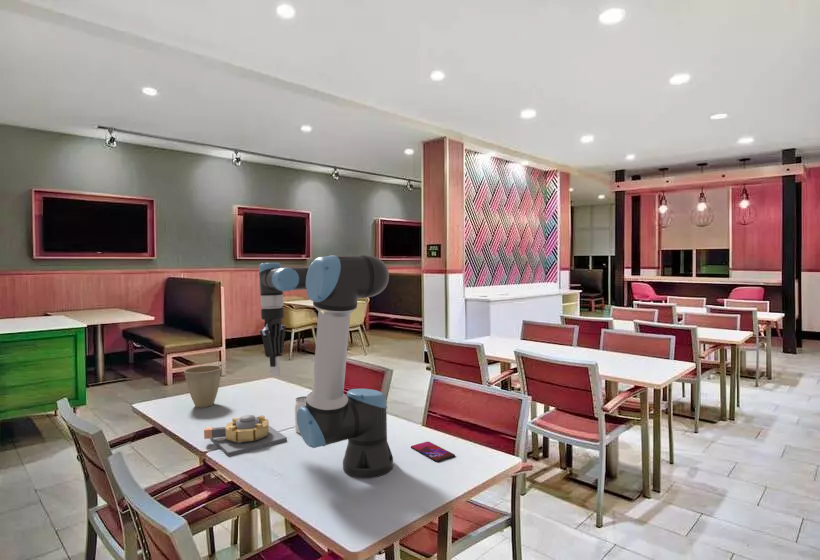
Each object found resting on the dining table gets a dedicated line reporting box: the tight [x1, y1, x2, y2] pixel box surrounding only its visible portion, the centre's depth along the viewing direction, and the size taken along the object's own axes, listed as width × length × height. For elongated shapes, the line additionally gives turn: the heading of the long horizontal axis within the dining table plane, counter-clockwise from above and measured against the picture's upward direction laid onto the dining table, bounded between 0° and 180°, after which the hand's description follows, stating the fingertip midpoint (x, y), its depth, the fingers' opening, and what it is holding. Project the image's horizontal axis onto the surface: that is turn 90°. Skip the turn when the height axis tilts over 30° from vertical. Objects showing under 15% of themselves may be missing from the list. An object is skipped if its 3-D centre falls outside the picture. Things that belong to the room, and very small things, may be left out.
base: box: [209, 414, 288, 457], centre depth 171 cm, size 20×20×8 cm
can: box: [294, 395, 307, 435], centre depth 179 cm, size 6×6×12 cm
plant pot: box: [183, 364, 222, 408], centre depth 213 cm, size 15×15×16 cm
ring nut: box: [203, 415, 270, 442], centre depth 171 cm, size 21×14×4 cm, turn 103°
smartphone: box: [410, 441, 456, 463], centre depth 158 cm, size 8×1×15 cm
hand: (275, 375), depth 170 cm, fingers closed
